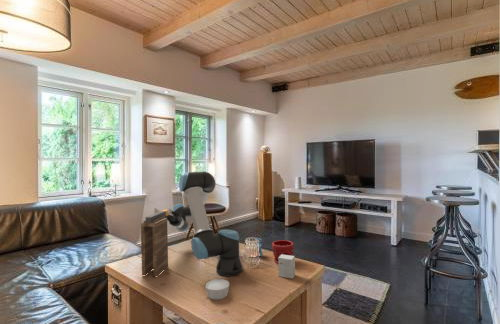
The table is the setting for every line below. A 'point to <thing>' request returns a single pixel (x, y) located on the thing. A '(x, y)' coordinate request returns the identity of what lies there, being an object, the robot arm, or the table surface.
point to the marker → (156, 216)
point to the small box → (286, 266)
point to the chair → (259, 246)
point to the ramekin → (217, 289)
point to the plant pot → (282, 248)
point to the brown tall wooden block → (154, 246)
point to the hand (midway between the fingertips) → (161, 210)
